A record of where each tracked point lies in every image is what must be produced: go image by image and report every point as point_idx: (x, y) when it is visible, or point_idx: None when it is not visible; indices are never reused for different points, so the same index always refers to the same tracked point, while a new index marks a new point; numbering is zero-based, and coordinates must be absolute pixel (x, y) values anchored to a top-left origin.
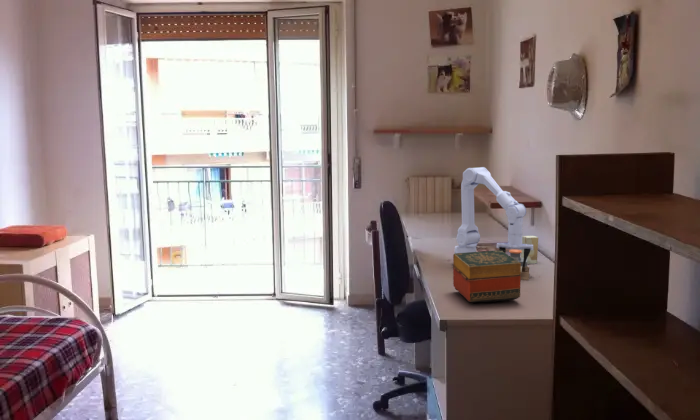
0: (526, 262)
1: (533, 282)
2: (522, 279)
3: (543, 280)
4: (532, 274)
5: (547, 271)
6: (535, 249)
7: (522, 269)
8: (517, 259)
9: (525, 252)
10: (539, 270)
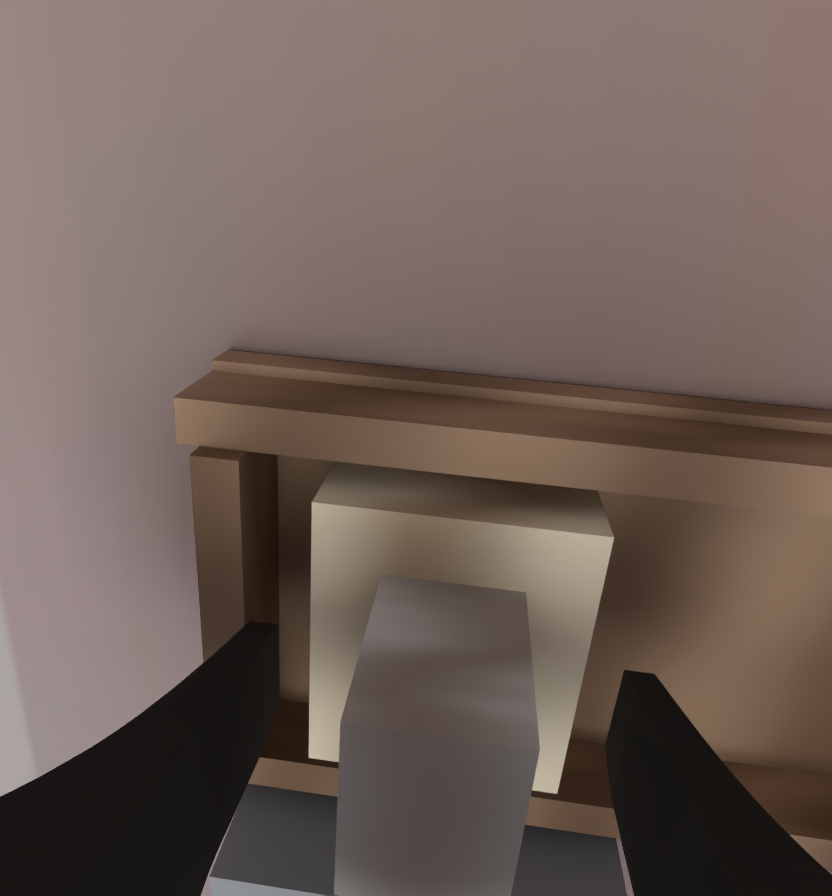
0: (223, 868)
1: (141, 213)
2: (323, 362)
3: (15, 387)
4: None
5: None
6: None
7: None
8: (354, 735)
9: (4, 880)
10: None
